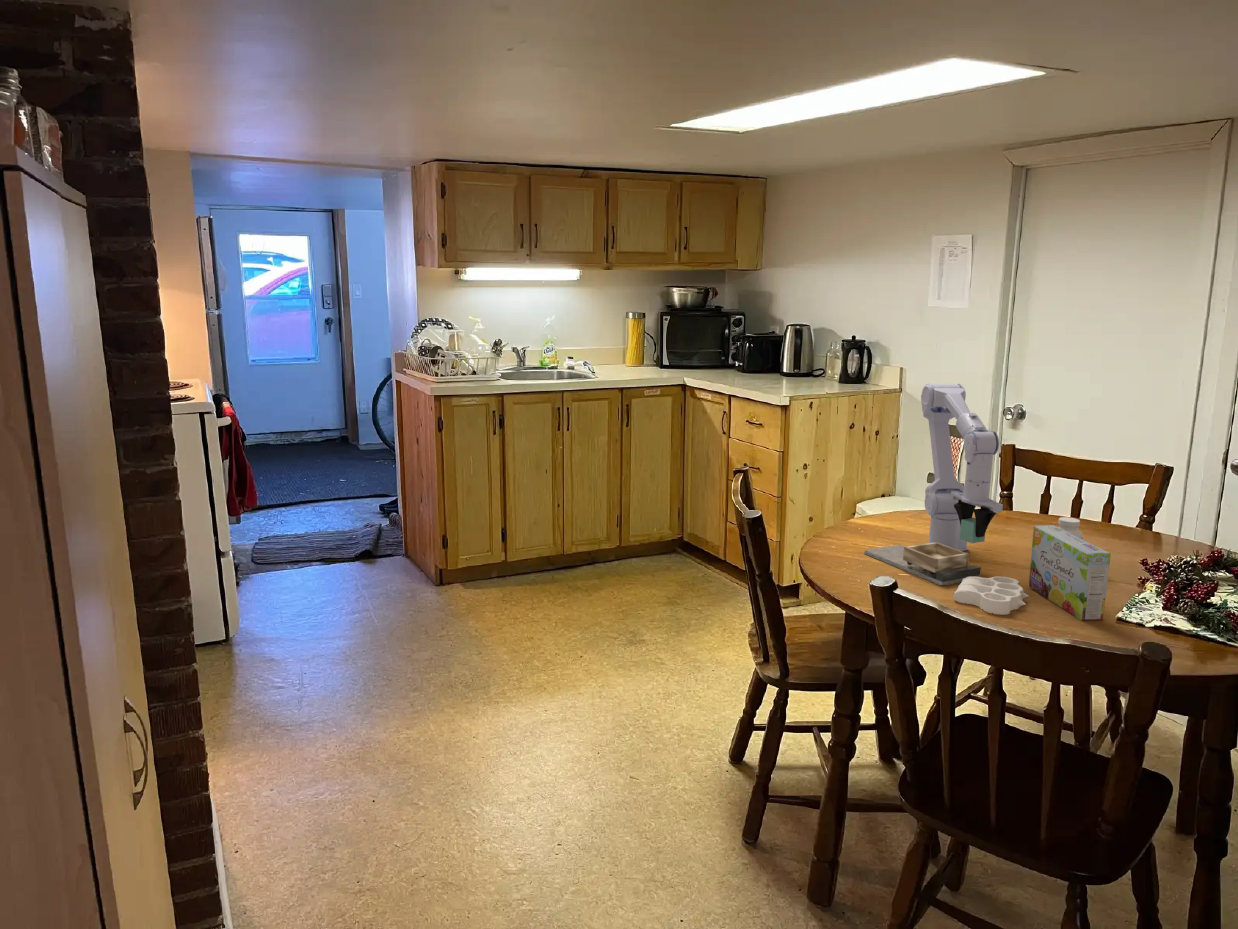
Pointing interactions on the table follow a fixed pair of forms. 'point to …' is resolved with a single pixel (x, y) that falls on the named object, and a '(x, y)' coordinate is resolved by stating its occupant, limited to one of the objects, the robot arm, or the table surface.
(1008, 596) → the white paw tray
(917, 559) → the brown open box
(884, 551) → the rail board
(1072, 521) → the supplement bottle
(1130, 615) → the table surface
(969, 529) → the block
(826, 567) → the table surface
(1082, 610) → the snack box
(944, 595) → the table surface
